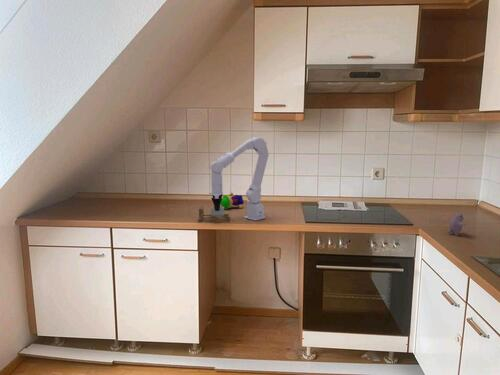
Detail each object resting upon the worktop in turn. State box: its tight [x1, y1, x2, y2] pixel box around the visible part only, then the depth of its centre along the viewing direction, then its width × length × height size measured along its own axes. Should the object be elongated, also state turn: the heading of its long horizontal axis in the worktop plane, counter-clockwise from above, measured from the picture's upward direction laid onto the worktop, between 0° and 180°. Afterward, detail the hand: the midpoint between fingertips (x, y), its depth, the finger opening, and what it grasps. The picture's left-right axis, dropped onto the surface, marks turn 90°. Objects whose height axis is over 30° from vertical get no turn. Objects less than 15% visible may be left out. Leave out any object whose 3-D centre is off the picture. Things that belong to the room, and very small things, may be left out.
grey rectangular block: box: [210, 206, 225, 216], centre depth 199 cm, size 7×2×6 cm, turn 93°
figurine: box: [447, 212, 467, 237], centre depth 173 cm, size 12×6×10 cm, turn 170°
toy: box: [220, 192, 245, 210], centre depth 227 cm, size 12×9×15 cm
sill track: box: [198, 205, 230, 223], centre depth 199 cm, size 16×7×7 cm, turn 93°
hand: (217, 209), depth 199 cm, fingers open, 7 cm apart
